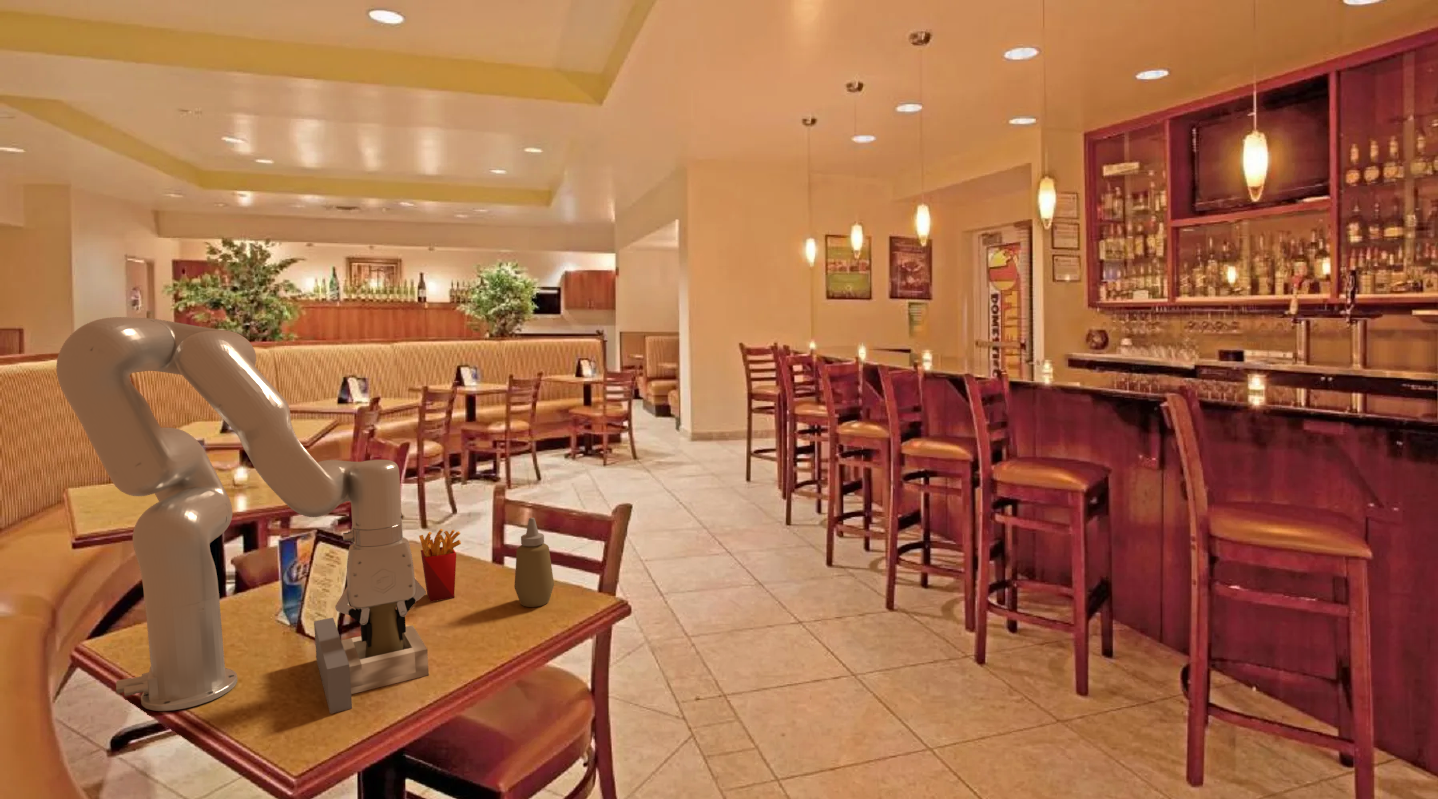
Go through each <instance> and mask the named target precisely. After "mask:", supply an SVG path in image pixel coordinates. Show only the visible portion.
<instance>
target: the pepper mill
mask: <svg viewBox="0 0 1438 799" xmlns="http://www.w3.org/2000/svg"><path fill="white" fill-rule="evenodd" d="M396 606H397V602H395V603H388V604H382V605H379V606H375V607H369V609H370V611H369V621H370V623H371V625H372V639H371V647H368V646H367V642H366V652H365V657H366V658H369V657H373V656H378V655H382V654H386V653H391V652H395V651H400V650H404V646H403V641H402V640H400V639H399V633H398V629H397V612H396V610H397V608H396Z"/></svg>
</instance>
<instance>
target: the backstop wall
mask: <svg viewBox="0 0 1438 799" xmlns="http://www.w3.org/2000/svg"><path fill="white" fill-rule="evenodd" d="M313 627H314V628H313V629H314V642H315V655H316V656H315V658H316V663H317V667H318V671H319V674H320V679H321V683H322V687H323V692H324V694H325V695H324V696H325V699H326V702H327V703H326V704H327V707H328V711H329V714H330V715H331V714H335V713H339V712H344V711H347V710H351V709H352V708H353V702H352V701H353V700H352V694H351V683H350V667H349V662H348V659H347V656H346V653H345V650H344V647H343V645H342V642H341V640H342V639H341V637H340V634H339V630H338V627H337V625H336V621H335V619H334V617H329V618H324V619H318V620H314V621H313Z"/></svg>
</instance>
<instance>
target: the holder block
mask: <svg viewBox="0 0 1438 799" xmlns="http://www.w3.org/2000/svg"><path fill="white" fill-rule="evenodd" d="M402 636H403V640H402V641H403V646H404V650H400V651H395V652H391V653H386V654H382V655H378V656H373V657H369V658H366V657H365V652H366V641H363V642H362V639H361V635H360V636H355V637H350V638H345V639H341V642H342V645H343V647H344V650H345V653H346V656H347V659H348V662H349V667H350V683H351V695H353V694H357V693H358V694H359V693H361V692H365V691H369V690H374V689H378V688H382V687H385V686H389V685H394V684H398V683H402V682H406V681H410V680H414V679H418V678H421V677H426V676H429V675H430V674H429V656H428V655H429V654H428V647H427V646H426V644H425V642H424V641H423V639H422V638H421V636H420V634H419V633H418V631H417V630H416V628H415V626H414V625H413V624H412V625H408V626H406V632H405V633H402Z"/></svg>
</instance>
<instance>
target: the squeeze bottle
mask: <svg viewBox="0 0 1438 799" xmlns="http://www.w3.org/2000/svg"><path fill="white" fill-rule="evenodd" d="M520 543H521V545H519V546H518V547H517V548H516V554H515V555H516V557H515V572H514V591H515V593H516V595H517V598H518V600H519V604H520V605H521V606H523V607H527V608H532V607H533V608H534V607H541V606H544V605H546V604H548V603H549V601H551V600H550V599H551V597H552V593H553V589H554V586H555V582H554V575H553V574H554V573H553V568H552V566H553V565H552V560H551V554H550V546H549V545H548V544H546V543H545V535H544V533H541V532H539V530H538V525H537V522H536V518H535V517H530V518H528V521H527V527H526V533H525V534H522V535H521V536H520Z"/></svg>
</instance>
